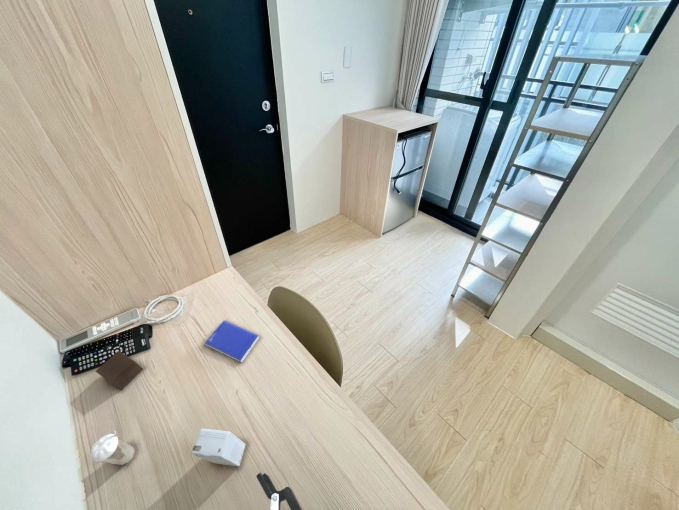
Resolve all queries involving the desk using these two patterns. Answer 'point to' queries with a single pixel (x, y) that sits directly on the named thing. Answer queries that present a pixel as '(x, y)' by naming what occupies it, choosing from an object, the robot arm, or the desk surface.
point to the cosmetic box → (219, 447)
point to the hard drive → (232, 341)
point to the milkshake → (111, 450)
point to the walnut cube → (119, 370)
